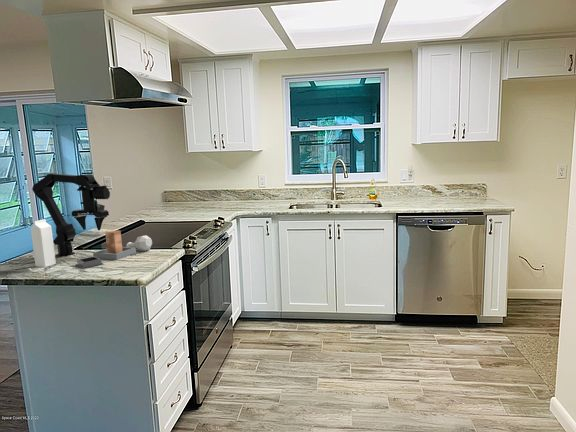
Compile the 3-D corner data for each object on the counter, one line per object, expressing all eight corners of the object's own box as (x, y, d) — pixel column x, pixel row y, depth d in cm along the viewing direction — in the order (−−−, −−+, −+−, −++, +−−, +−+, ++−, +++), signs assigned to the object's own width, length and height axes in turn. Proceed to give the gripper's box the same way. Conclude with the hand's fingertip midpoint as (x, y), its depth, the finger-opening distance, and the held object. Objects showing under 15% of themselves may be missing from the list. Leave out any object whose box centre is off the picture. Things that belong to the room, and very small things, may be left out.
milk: (35, 268, 199) (28, 221, 196) (46, 264, 205) (40, 218, 202) (45, 268, 198) (39, 221, 194) (56, 265, 203) (50, 219, 200)
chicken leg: (136, 247, 239) (128, 235, 236) (158, 244, 229) (149, 231, 225) (126, 256, 233) (118, 243, 229) (147, 253, 223) (139, 240, 219)
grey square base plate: (74, 266, 199) (73, 259, 199) (96, 262, 206) (95, 255, 206) (82, 270, 192) (81, 263, 192) (104, 265, 199) (104, 259, 198)
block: (107, 256, 213) (105, 232, 211) (114, 253, 218) (111, 230, 216) (116, 256, 212) (114, 232, 210) (122, 254, 217) (120, 230, 215)
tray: (93, 259, 211) (93, 252, 210) (113, 252, 224) (113, 246, 223) (117, 261, 206) (116, 254, 206) (136, 254, 219) (135, 247, 219)
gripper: (115, 197, 220) (117, 227, 223) (86, 197, 226) (89, 226, 229) (99, 200, 210) (102, 231, 212) (69, 200, 216) (72, 230, 219)
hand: (91, 230), depth 218 cm, fingers open, 9 cm apart
